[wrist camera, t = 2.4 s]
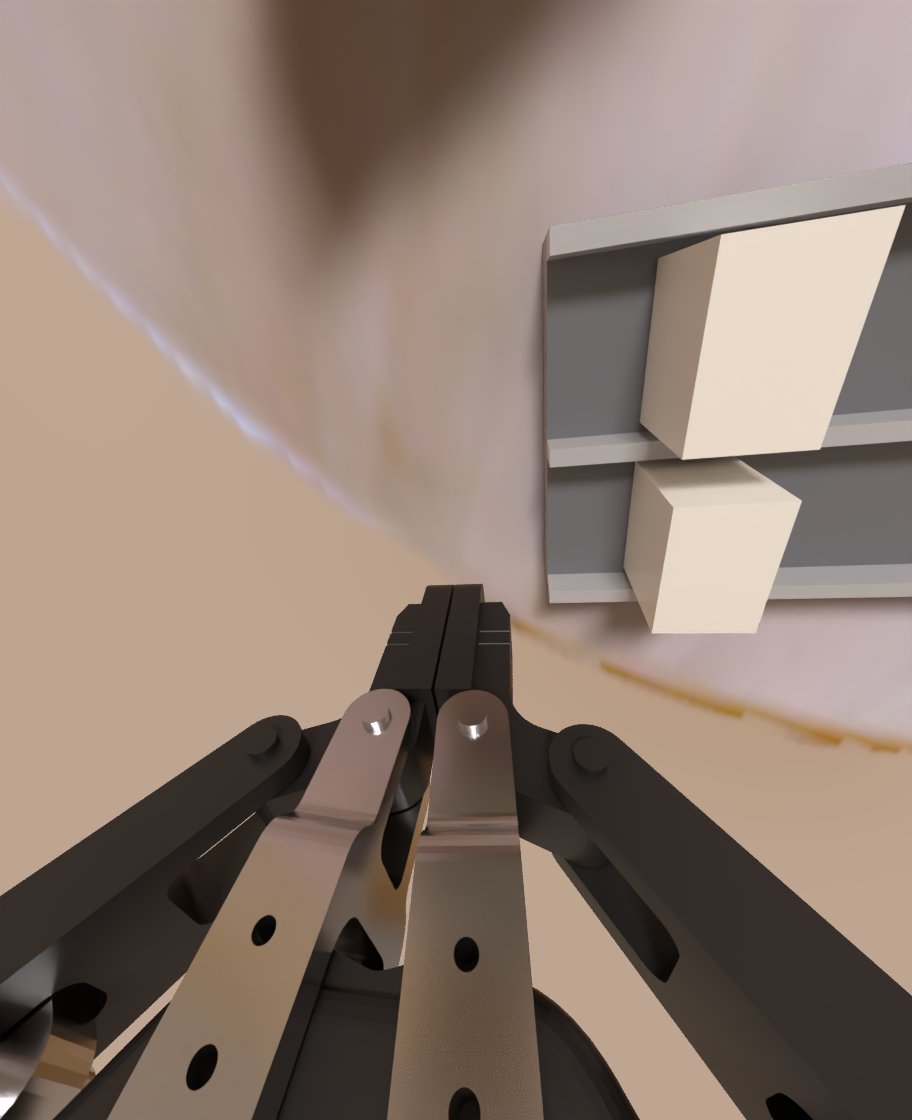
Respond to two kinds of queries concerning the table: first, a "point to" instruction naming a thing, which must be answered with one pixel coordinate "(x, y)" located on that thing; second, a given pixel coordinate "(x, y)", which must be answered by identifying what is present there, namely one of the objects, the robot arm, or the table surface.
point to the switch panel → (812, 476)
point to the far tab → (705, 543)
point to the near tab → (760, 333)
